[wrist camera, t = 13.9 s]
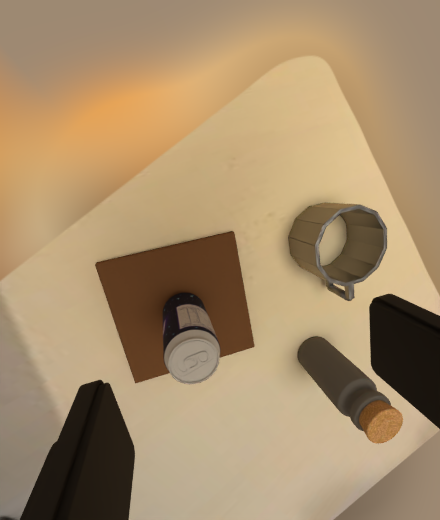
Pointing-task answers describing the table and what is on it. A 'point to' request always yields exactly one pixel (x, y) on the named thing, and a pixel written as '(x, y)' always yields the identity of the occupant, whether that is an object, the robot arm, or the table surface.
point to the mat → (169, 284)
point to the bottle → (350, 390)
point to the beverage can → (189, 339)
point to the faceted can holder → (355, 250)
